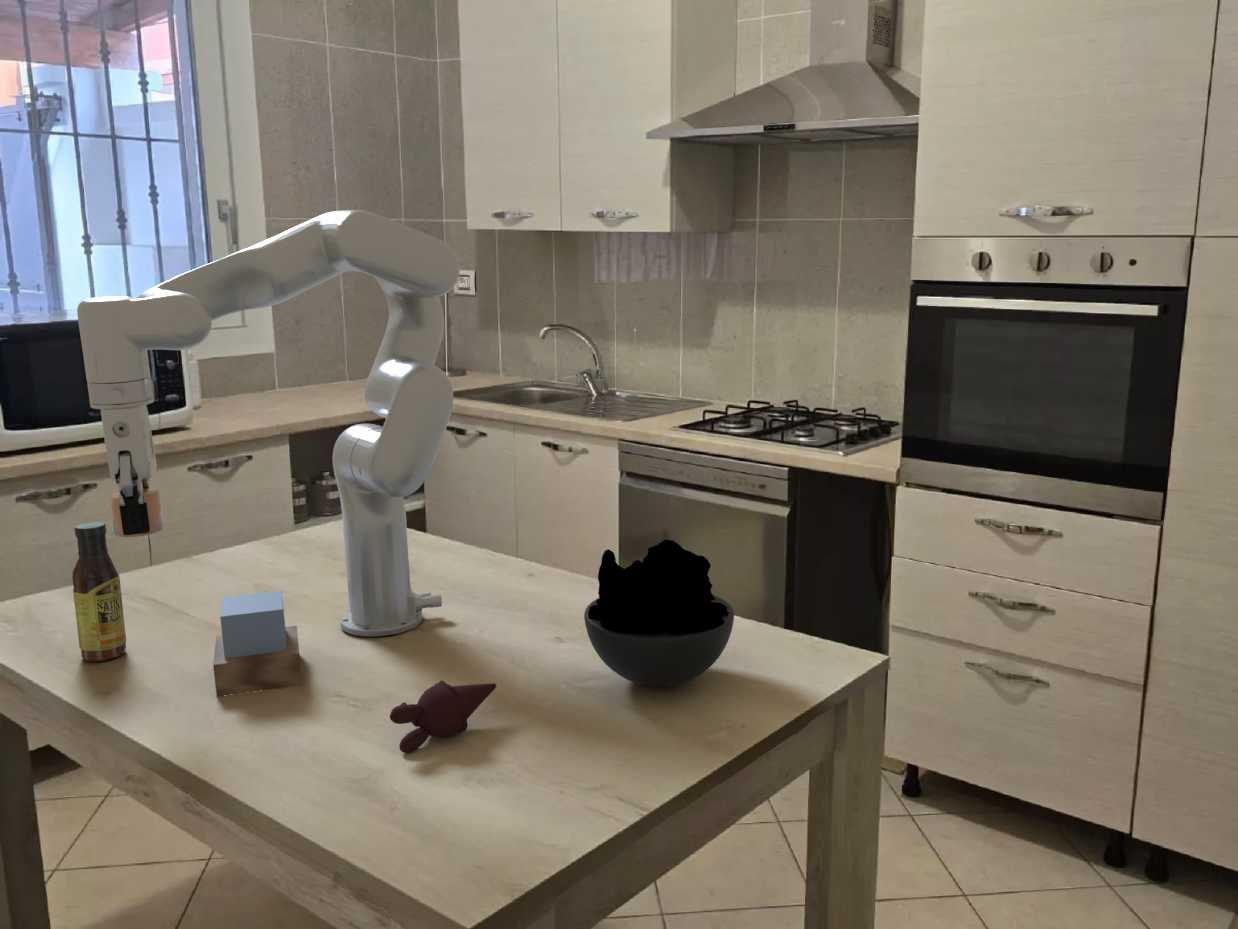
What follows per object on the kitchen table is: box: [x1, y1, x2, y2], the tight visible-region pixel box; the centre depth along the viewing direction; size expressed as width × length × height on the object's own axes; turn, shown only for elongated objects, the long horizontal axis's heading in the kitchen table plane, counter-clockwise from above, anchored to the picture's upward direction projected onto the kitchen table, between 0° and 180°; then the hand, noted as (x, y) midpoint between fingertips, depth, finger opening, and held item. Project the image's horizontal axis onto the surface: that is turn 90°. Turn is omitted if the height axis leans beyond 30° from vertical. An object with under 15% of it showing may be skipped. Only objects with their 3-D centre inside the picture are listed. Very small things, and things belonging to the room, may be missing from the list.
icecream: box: [389, 680, 497, 754], centre depth 132 cm, size 7×7×15 cm
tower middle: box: [219, 590, 287, 659], centre depth 150 cm, size 8×8×6 cm
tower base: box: [212, 625, 303, 698], centre depth 151 cm, size 11×11×5 cm
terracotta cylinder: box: [109, 487, 165, 538], centre depth 144 cm, size 6×6×5 cm
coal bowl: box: [583, 539, 735, 688], centre depth 145 cm, size 20×20×19 cm
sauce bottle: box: [71, 521, 127, 663], centre depth 157 cm, size 7×6×20 cm
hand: (139, 525), depth 144 cm, fingers closed on terracotta cylinder, 6 cm apart
